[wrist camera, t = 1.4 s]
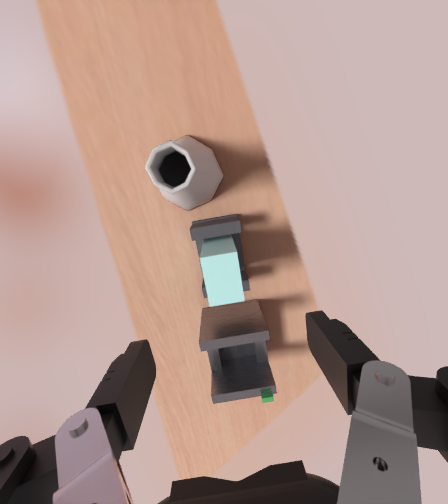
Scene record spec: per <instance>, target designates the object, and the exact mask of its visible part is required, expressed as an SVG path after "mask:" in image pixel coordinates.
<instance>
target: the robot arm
mask: <svg viewBox="0 0 448 504" xmlns="http://www.w3.org/2000/svg"><path fill="white" fill-rule="evenodd" d="M306 328H307V340H308V345H309V348H310V351H311V353H312V355H313V356H314V358H315V360H316V361H317V363H318V365H319V367H320V368H321V370H322V372H323V373H324V375H325V376H326V378H327V380H328V382H329V384H330V385H331V387H332V388H333V390H334V392H335V394H336V395H337V397H338V399H339V400H340V402H341V404H342V406H343V407H344V409H345V411H346V413H347V414H348V415H352V417H351V423H350V429H349V435H348V441H347V447H346V453H345V459H344V465H343V471H342V477H341V483H340V486H338V485H336V484H335V483H333V482H331V481H329V480H327V479H325V478H322V477H320V476H317V475H313V474H308V473H306V472H305V468H304V465H303V462H302V460H301V461H294V462H289V463H282V464H276V465H270V466H268V467H266V468H264V469H262V470H260V471H258V472H256V473H254V474H252V475H251V476H248V477H246V478H245V479H243V480H240V481H230V480H224V479H218V478H211V477H205V476H203V477H197V478H190V479H184V480H178V481H173V482H172V487H171V494H170V496H169V497H167V498H165V499H164V500H162V501H161V502H160V503H158V504H421V490H420V478H419V464H418V450H417V446H418V447H423V448H429V449H435V450H438V451H439V452H440V454H441V455H442V456H443V457H444V459H445V460H446V461H447V462H448V366H447V367H443V368H440V369H439V370H438V371H437V376H436V378H427V377H415V376H409V375H407V374H406V373H405V372H404V371H403V370H402V369H401V368H399V367H397V366H395V365H394V364H391V363H388V362H385V361H380V360H379V359H378V358H377V357H376V355H375V354H374V353H372V351H371V350H370V349H369V348H368V347H367V346H366V345H365V344H364V343H363V342H362V341H361V340H360V339H358V337H357V336H356V335H355V334H354V333H353V332H352V330H351V329H350V328H349V327H348V326H347V325H346V324H344V323H342V322H340V321H339V320H337V319H331V320H330V319H329V318H328V317H327V316H326V314H325V313H324V312H323V311H315V312H309V313H306ZM155 378H156V365H155V361H154V358H153V355H152V351H151V348H150V345H149V342H148V340H140V341H134V342H131V343H130V344H129V346H128V348H127V350H126V351H125V353H124V354H121V355H120V356H118V357H117V358H116V359H115V360H114V361H113V362H112V363H111V365H110V367H109V369H108V370H107V373H106V374H105V375H104V377H103V379H102V381H101V382H100V384H99V386H98V388H97V389H96V391H95V393H94V394H93V396H92V398H91V399H90V401H89V403H88V404H87V406H86V408H85V409H83V410H81V411H79V412H77V413H75V414H74V415H73V416H71V417H70V418H68V419H67V420H66V421H65V422H64V423H63V425H62V426H61V427H60V428H59V430H58V432H57V434H56V435H54V436H52V437H49V438H47V439H45V440H42V441H40V442H38V443H36V444H33V445H32V444H31V442H30V440H29V438H28V437H26V436H19V437H15V438H13V439H10V440H8V441H6V442H5V443H3V444H2V445H0V504H134V503H133V500H132V497H131V494H130V491H129V488H128V486H127V482H126V480H125V477H124V474H123V471H122V468H121V465H120V463H119V459H120V456H121V453H122V451H127V450H132V449H134V445H135V442H136V439H137V436H138V432H139V429H140V426H141V423H142V420H143V416H144V413H145V410H146V407H147V404H148V400H149V397H150V394H151V391H152V387H153V384H154V381H155Z"/></svg>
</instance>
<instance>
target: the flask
mask: <svg viewBox="0 0 448 504" xmlns="http://www.w3.org/2000/svg"><path fill="white" fill-rule="evenodd" d="M145 168H146V170H147V172H148V174H149V176H150V178H151V180H152V182H153V183H154V185H155V186H157V187H158V188H159V190H160V192H161V194H162V196H163V198H164V199H166V200H167V201H169V202H171V203H173V204H175V205H177V206H179V207H181V208H183V209H184V210H186V211H189V210H191V209H194V208H196V207H198V206H200V205H202V204H204V203H206V202H208V201H211V200H212V198H213V196H214V194H215V192H216V190H217V188H218V186H219V184H220V182H221V180H222V178H223V173H222V171H221V169H220V167H219V164H218V162H217V160H216V157H215V155H214V153H213V150H212V149H210V148H209V147H207V146H205V145H204V144H202V143H200V142H198V141H197V140H195V139H193V138H192V137H190V136H188V135H186V136H184V137H182V138H180V139H178V140H176V141H174V142H173V141H171V140H169V141H167V142H165V143H163V144H161V145H159V146H157V147H155V148H153V149H152V152H151V154H150V156H149V159H148V161H147V163H146V166H145Z"/></svg>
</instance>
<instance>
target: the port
mask: <svg viewBox="0 0 448 504" xmlns="http://www.w3.org/2000/svg"><path fill="white" fill-rule="evenodd" d="M266 340H270V337H269V330H268V327H267V325H266V322H265V319H264V317H263V314H262V311H261V309H260V306H259V303H258V301H257V300H251V301H245V302H239V303H233V304H227V305H221V306H215V307H209V308H203V309H202V316H201V326H200V337H199V345H200V349H201V351H206V350H207V352H208V356H209V361H210V365H211V370H212V387H211V397H212V401H213V404H215V403H221V402H227V401H233V400H239V399H245V398H251V397H257V396H261V397H262V402H263V403H265V402H271V401H274V399H273V394H275V393H277V392H276V385H275V381H274V378H273V375H272V372H271V368H270V365H269V362H268V355H267V348H266Z"/></svg>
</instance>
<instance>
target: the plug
mask: <svg viewBox="0 0 448 504" xmlns="http://www.w3.org/2000/svg"><path fill="white" fill-rule="evenodd" d="M200 262H201V267H202V272H203V277H204V281H205V286H206V291H207V296H208V301H209V306H210V307H212V306H218V305H224V304H230V303H236V302H242V301H245V300H244V293H243V292H244V291H243V285H242V278H241V272H240V266H239V259H238V255H237V250H236V247H235V244H234V241H233V239H232V236H231V234H229V235H223V236H217V237H212V238H206V239H203V244H202V249H201V254H200Z"/></svg>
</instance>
